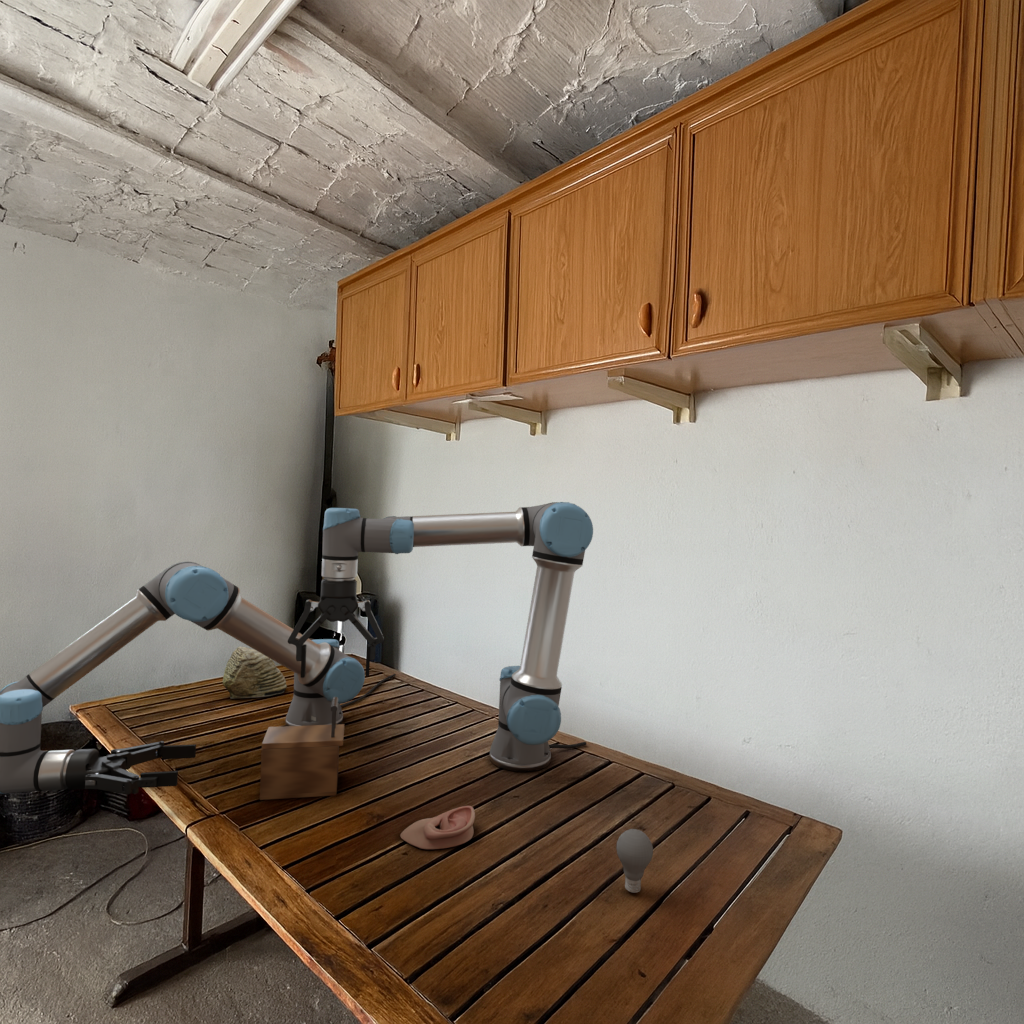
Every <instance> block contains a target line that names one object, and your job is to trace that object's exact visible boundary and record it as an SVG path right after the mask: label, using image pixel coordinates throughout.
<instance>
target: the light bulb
mask: <svg viewBox="0 0 1024 1024" xmlns="http://www.w3.org/2000/svg"><path fill="white" fill-rule="evenodd" d="M615 849H616V854H617V857H618V859H619V861H620V863H621V865H622V867H623V873H624V874H623V875H624V876H625V878H624V888H625V890H627V891H628V892H630V893H634V894H635V893H639V892H640V891H641V889H642V887H641V886H642V879H643V877H644V875H645V871H646V868H647V867H648V866H649V864H650V863H651V861H652V859H653V855H654V847H653V843H652V841H651V838H649V836H648V835H647V834H646V833H645V832H643V831H642V830H641V829H636V828H629V829H627V830H625V831H623V832H622V833H621V834H620V835H619V837H618V839H617V841H616V847H615Z"/></svg>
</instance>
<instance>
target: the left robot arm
mask: <svg viewBox="0 0 1024 1024" xmlns="http://www.w3.org/2000/svg"><path fill="white" fill-rule="evenodd" d="M174 615H176V616H177V617H178V618H180V619H182V620H185V621H189V622H191V623H193V624H194V625H196V626H198V627H200V628H202V629H204V630H206V631H208V632H209V631H213V630H217V629H218V630H220V631H221V632H223V633H225V634H227V635H228V636H230V637H232V638H234V639H235V640H237V641H239V642H240V643H242V644H243V645H245V646H248V648H250V649H255V650H256V651H258V652H260V653H262V654H263V655H265V656H267V657H269V658H270V659H272V660H273V661H274V662H275V663H277V664H279V665H281V666H282V667H284V668H286V669H288V670H290V671H291V672H293V695H292V696H293V697H292V699H291V702H290V704H289V708H288V711H287V713H286V715H285V726H309V725H332V711H331V703H332V698H333V697H337V698H338V707H337V711H336V725H337V724H343V722H344V714H343V709H342V708H344V707H346V706H351V705H352V704H355V703H357V702H359V701H362V699H365V698H366V697H367V696H369V695H370V694H371V693H372V692H374V690H376V688H378V687H379V686H380V685H381V684H382V683H384V682H386V681H387V680H389V679H391V678H393V677H395V676H396V675H397V674H396V673H393V674H391V675H389V676H387V677H385V678H383V679H381V680H380V681H379V682H378V683H376V684H375V685H374V686H373V687H372V688H371V689H370V690H368V692H366V693H364V694H363V695H362V696H359V697H358V698H356V697H357V696H358V695H359V693H360V692H361V691H362V689H363V686H364V684H365V680H366V679H365V678H366V672H365V669H364V667H363V665H362V663H360V662H359V660H358V659H356V658H354V657H351V656H349V655H348V654H346V653H344V652H343V651H341V650H340V647H341V646H340V642H339V640H338V639H334V638H323V639H322V638H319V639H310V638H308V639H307V640H306V641H305V643H304V644H307V645H306V671H305V677H304V678H301V661H297V660H296V646H295V645H293V644H289V643H288V639H289V637H290V635H291V633H292V632H293V630H294V628H293V627H290V626H289V625H288V624H285V623H284V622H282V621H281V620H279V619H277V618H276V617H274V616H273V615H271V614H269V613H268V612H266V611H264V610H263V609H261V608H260V607H258V606H257V605H255V604H253V603H252V602H250V601H248V600H247V599H245V598H243V597H242V596H241V589H240V588H239V587H238V585H236V584H234V583H232V582H230V581H229V580H228V579H225V578H224V577H223V576H221V574H220V573H218V572H217V571H216V570H213V569H211V568H210V567H207V566H203V565H201V564H200V563H197V562H193V561H179V562H176V563H173V564H171V565H169V566H168V567H166V568H164V569H163V570H162V571H160V572H159V573H158V574H156V575H155V576H154V577H153V578H152V579H150V580H148V582H146V583H145V584H144V585H142V586H141V587H139V588H138V589H137V590H136V595H135V596H134V597H133V598H131V599H130V600H129V601H128V602H126V603H125V604H123V605H122V606H121V607H120V608H118V609H117V610H115V611H113V612H112V613H111V614H110V615H108V616H107V617H106V618H104V619H103V620H101V621H100V622H98V623H97V624H95V626H93V627H92V628H90V629H89V630H87V631H86V632H84V633H83V634H82V635H80V636H79V637H78V638H76V639H75V640H73V641H72V642H71V643H70V644H68V645H67V646H66V647H64V648H63V649H61V650H59V651H58V652H57V653H56V654H54V655H53V656H52V657H50V658H49V659H47V660H46V661H44V662H43V663H42V664H40V665H39V666H38V667H36V668H35V669H33V670H32V671H30V673H28V674H27V675H25V676H24V677H22V678H21V679H19V680H18V681H17V680H16V681H14V682H10V683H8V684H6V685H5V686H4V687H2V689H0V795H6V794H7V795H8V794H17V793H31V792H47V791H48V792H50V791H51V792H52V793H57V792H58V791H66V790H68V789H69V790H71V791H72V790H74V791H75V790H98V791H104V792H110V793H115V794H121V795H131V794H133V795H135V794H139V791H140V790H139V789H146V788H147V789H148V788H162V787H163V788H165V787H177V786H178V779H179V778H178V777H179V770H168V771H167V770H166V771H165V770H164V771H149V772H148V771H146V772H145V771H144V772H140V775H139V774H136V773H134V772H131V771H128V770H130V769H131V768H132V767H134V766H136V765H140V764H143V763H147V762H151V761H153V760H157V759H160V758H161V760H178V759H179V760H180V759H182V760H183V759H195V758H196V757H197V756H196V755H197V744H196V743H195V744H194V743H193V744H173V745H172V744H171V745H169V744H168V745H165V741H164V740H159V741H157V742H151V743H145V744H139V745H135V746H130V747H124V748H113V749H111V750H110V754H107V755H106V756H101V754H100V752H99V750H98V749H96V748H83V749H81V748H80V749H76V750H74V749H56V750H55V749H54V750H41V746H42V740H41V736H42V715H43V713H42V712H43V710H44V708H45V707H46V706H47V705H48V704H50V703H51V702H53V701H54V700H55V699H57V697H59V696H60V695H61V694H63V693H64V692H65V691H67V690H68V689H69V688H71V687H72V686H73V685H75V684H76V683H77V682H78V681H80V680H81V679H83V678H84V677H86V676H87V675H88V674H89V673H91V672H92V671H93V670H95V669H96V668H98V667H99V666H100V665H101V664H103V663H104V662H105V661H107V660H108V659H109V658H111V657H112V656H113V655H115V654H116V653H118V652H119V651H120V650H122V649H123V648H124V647H126V645H128V644H130V643H131V642H132V641H134V639H136V638H138V637H139V636H140V635H141V634H142V633H144V632H146V631H147V630H148V629H150V628H151V627H152V626H153V625H154V624H156V623H157V622H161V621H162V622H166V621H168V619H170V618H171V617H173V616H174ZM302 635H303V634H302V633H301V632H299V633H298V635H297V636H296V638H298V639H299V638H300V637H301V636H302ZM355 698H356V699H355Z"/></svg>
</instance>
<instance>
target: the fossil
mask: <svg viewBox="0 0 1024 1024" xmlns="http://www.w3.org/2000/svg"><path fill="white" fill-rule="evenodd" d="M222 676H223V677H222V685H223V687H224V688H225V690H226V691H228V693H229V698H230V699H250V698H264V697H271V696H275V695H281V694H284V693H285V691H286V689H287V687H288V686H287V680H286V678H285V676H284V674H283V673H282V672H281V669H279V668H278V667H277V665H276V662H275V661H274V660H272V659H270V658H269V657H267V656H265V655H263V654H262V653H260V652H258V651H256V650H255V649H253V648H251V647H247V646H246V647H245V646H238V647H237V648H236V649H235V650H233V651H232V653H231V656H230V657H229V659H228V660H227V663H226V666H225V668H224V671H223V675H222Z"/></svg>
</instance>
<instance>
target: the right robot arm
mask: <svg viewBox="0 0 1024 1024" xmlns="http://www.w3.org/2000/svg"><path fill="white" fill-rule="evenodd" d="M360 513H361V512H360V510H359V509H358V508H349V507H329V508H326V510H325V511H324V518H323V527H322V556H321V560H322V561H321V577H322V578H323V579H321V582H320V599H319V601H314V600H312V599H310V598H309V599H306V601H305V603H304V610H303V612H302V614H301V615H300V617H299V619H298V621H297V622H296V625H295V627H294V628H293V629H294V630H293V632H292V633H291V635H290V637H289V639H288V643H289V644H293V645H295V646H296V660H297V661H301V678H304V677H305V671H306V645H307V644H304V643H305V641H306V640H307V639H310V637H312V635H314V633H316V631H317V630H318V629H319V628H320V626H321V625H322V624H323V623H325V621H326V620H327V622H328V621H329V622H331V623H333V622H334V623H335V622H341V623H345V622H346V621H349V622H350V623H351V624H352V625H353V626H354V627H355V629H357V630H358V632H359V633H360V634H361V635H362V636H363V638H364V639H365V641H367V643H366V651H365V653H366V655H365V677H370V663H371V662H370V661H375V659H376V649H377V645H379V644H383V643H384V642H385V637H384V634H383V633H382V629H381V628H380V626H379V624H378V621H377V620H376V617H375V616H374V613H373V611H372V608H371V601H370V599H365V600H364V601H358V600H357V591H358V590H357V589H358V588H357V587H358V580H356V579H355V578H357V577H358V564H359V563H358V562H359V558H358V557H359V553H379V554H395V555H399V554H410V553H412V552H413V550H414V548H421V547H422V548H423V547H424V548H425V547H445V546H446V547H447V546H467V545H469V546H470V545H489V544H490V545H491V544H513V543H515V544H518V545H519V546H520V547H532V548H533V549H532V555H531V558H532V560H533V561H534V562H535V564H536V570H535V576H534V583H533V588H532V594H531V600H530V606H529V611H528V618H527V623H526V629H525V634H524V635H525V636H524V641H523V648H522V654H521V659H520V663H519V665H508V666H504V667H503V668H502V669H501V670H500V677H499V678H498V680H499V696H498V697H499V698H498V699H499V700H498V719H497V721H498V722H497V723H498V725H497V729H496V732H495V735H494V737H493V741H492V743H491V746H490V748H489V760H490V762H491V763H492V764H493V765H494V766H496V767H498V768H500V769H503V770H506V771H511V772H522V773H523V772H525V773H527V772H535V771H539V770H543V769H545V768H547V767H548V766H549V765H550V763H551V760H552V751H551V749H565V750H566V749H567V750H568V749H576V748H580V747H585V746H587V742H586V741H581V742H577V743H572V744H559V743H558V744H556V743H555V744H551V743H549V741H551V740H552V739H553V738H554V737H555V736H556V735H557V733H558V732H559V730H560V727H561V724H562V713H561V709H560V707H559V706H560V701H561V693H562V688H563V682H562V681H561V680H560V678H559V676H558V672H559V665H560V660H561V654H562V647H563V642H564V636H565V631H566V625H567V618H568V613H569V608H570V601H571V594H572V589H573V583H574V577H575V573H576V571H578V570H579V569H580V568H582V567H583V566H584V565H583V564H584V560H585V554H586V551H587V549H588V547H589V546H590V545H591V542H592V540H593V537H594V526H593V521H592V519H591V518H590V517H591V516H590V515H589V514H588V513H587V512H586V511H585V510H584V509H583V508H582V507H580V506H579V505H577V504H575V503H571V502H569V501H559V502H558V501H556V502H555V501H554V502H553V501H552V502H549V503H543V504H539V505H534V506H523V507H522V506H520V507H518V508H517V509H516V510H515V511H501V512H500V511H499V512H479V513H453V514H430V515H429V514H428V515H412V516H411V515H410V516H396V515H395V516H394V515H392V516H385V517H384V518H367V517H361V515H360ZM316 608H318V609H319V611H320V612H321V614H320V615H319V616H318V618H317V619H315V621H314V622H313V623H312V624H311V625H310V626H309V627H308V629H306V630H305V632H304V633H303V634H302V636H301V637H300V638H299V639H298V638H296V636H297V635H298V633H300V631H301V629H302V627H303V626H304V624H305V622H306V620H307V619H308V616H309V615H310V613H311V612H314V611H315V609H316ZM358 608H360V609H361V611H362V612H365V615H366V617H367V620H368V622H369V624H370V626H371V628H372V630H373V632H374V634H375V637H374V636H373V635H372V634H371V632H370V631H369V629H367V628H366V626H365V625H364V624H363V622H361V621H360V619H359V618H358V617H357V615H356V614H355V612H357V611H356V610H357V609H358Z"/></svg>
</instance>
